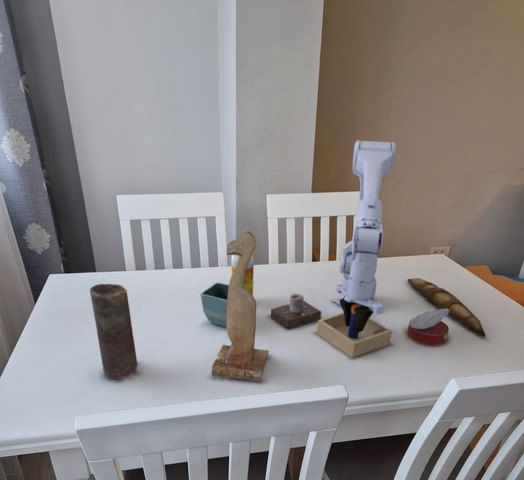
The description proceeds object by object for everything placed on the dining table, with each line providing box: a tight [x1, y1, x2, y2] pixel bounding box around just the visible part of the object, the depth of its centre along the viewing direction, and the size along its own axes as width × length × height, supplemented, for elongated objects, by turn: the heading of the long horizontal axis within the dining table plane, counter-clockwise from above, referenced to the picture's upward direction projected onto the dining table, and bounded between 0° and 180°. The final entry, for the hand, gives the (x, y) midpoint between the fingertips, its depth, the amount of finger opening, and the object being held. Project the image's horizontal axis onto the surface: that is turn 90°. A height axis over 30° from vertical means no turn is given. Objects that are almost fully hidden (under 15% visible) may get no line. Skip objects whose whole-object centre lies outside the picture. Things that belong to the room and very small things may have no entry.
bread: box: [407, 277, 486, 337], centre depth 137 cm, size 38×5×5 cm, turn 16°
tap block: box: [270, 300, 322, 330], centre depth 129 cm, size 11×8×3 cm
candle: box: [89, 283, 138, 380], centre depth 101 cm, size 8×7×20 cm
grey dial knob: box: [289, 293, 305, 313], centre depth 128 cm, size 4×4×4 cm
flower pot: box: [200, 282, 229, 328], centre depth 125 cm, size 9×9×9 cm
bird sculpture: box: [210, 230, 270, 382], centre depth 101 cm, size 11×12×32 cm
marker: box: [348, 304, 361, 339], centre depth 118 cm, size 3×3×8 cm
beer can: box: [230, 254, 255, 296], centre depth 133 cm, size 6×6×15 cm
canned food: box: [406, 308, 450, 346], centre depth 122 cm, size 11×10×10 cm
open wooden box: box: [316, 312, 393, 359], centre depth 120 cm, size 13×14×4 cm
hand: (354, 328), depth 120 cm, fingers open, 3 cm apart
